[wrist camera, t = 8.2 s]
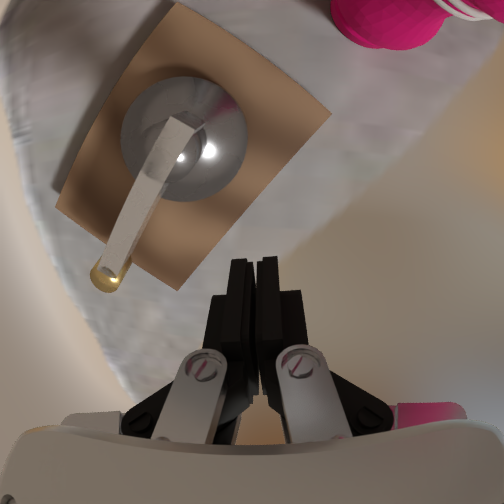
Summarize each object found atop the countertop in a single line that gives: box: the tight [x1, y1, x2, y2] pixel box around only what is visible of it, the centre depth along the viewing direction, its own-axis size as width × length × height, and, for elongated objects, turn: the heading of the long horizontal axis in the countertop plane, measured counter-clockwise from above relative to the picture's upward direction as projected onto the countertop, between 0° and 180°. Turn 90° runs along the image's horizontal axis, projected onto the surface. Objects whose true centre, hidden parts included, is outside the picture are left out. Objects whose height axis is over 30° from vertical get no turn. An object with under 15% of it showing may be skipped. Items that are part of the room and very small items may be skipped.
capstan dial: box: [90, 76, 248, 293], centre depth 20 cm, size 16×9×5 cm, turn 146°
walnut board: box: [55, 2, 332, 291], centre depth 23 cm, size 20×14×2 cm
